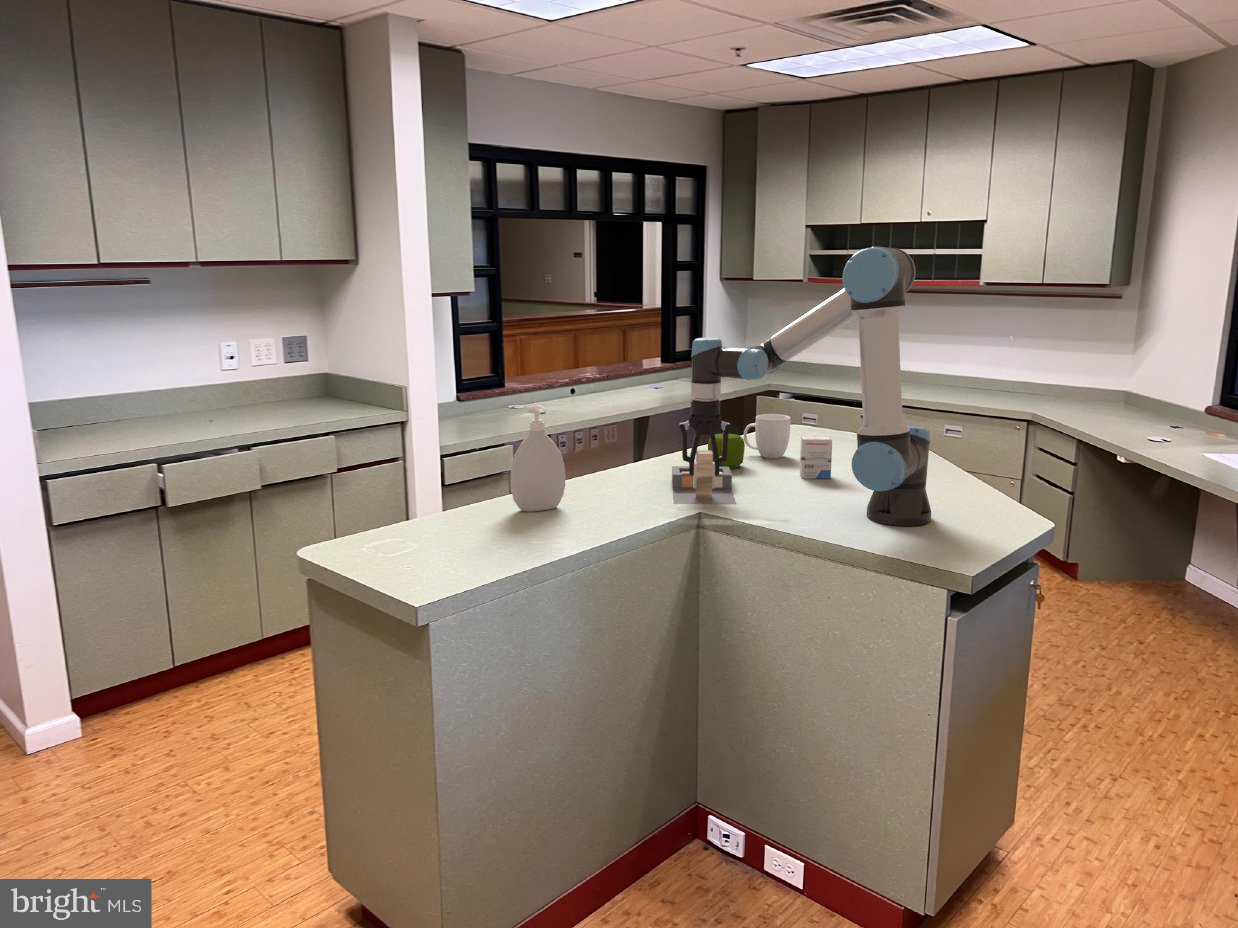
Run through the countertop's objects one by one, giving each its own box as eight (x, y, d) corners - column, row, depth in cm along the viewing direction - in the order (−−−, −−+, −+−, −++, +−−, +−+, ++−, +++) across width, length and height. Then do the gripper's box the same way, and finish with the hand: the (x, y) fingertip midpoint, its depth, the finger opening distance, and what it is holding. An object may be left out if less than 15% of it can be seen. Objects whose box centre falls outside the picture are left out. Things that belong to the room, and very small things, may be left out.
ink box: (828, 475, 259) (830, 436, 257) (830, 479, 255) (832, 439, 252) (798, 474, 260) (800, 435, 258) (800, 478, 255) (802, 439, 253)
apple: (745, 463, 275) (747, 429, 272) (741, 471, 264) (742, 435, 262) (710, 461, 278) (711, 427, 275) (704, 469, 267) (705, 434, 265)
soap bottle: (517, 517, 217) (514, 409, 211) (507, 509, 224) (504, 404, 218) (572, 510, 223) (570, 405, 217) (561, 502, 230) (559, 400, 224)
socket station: (736, 508, 224) (737, 487, 223) (673, 507, 225) (673, 487, 224) (728, 483, 250) (728, 464, 248) (671, 483, 250) (671, 464, 249)
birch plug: (711, 498, 229) (712, 453, 226) (696, 498, 229) (697, 453, 227) (710, 494, 233) (711, 450, 230) (695, 494, 233) (696, 450, 230)
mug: (739, 457, 283) (740, 417, 280) (746, 451, 293) (747, 412, 290) (785, 461, 278) (787, 420, 275) (791, 454, 288) (793, 415, 285)
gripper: (737, 396, 229) (735, 483, 234) (672, 396, 229) (670, 483, 235) (740, 401, 221) (737, 491, 227) (672, 400, 222) (671, 490, 227)
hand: (703, 486), depth 231 cm, fingers closed on birch plug, 4 cm apart
